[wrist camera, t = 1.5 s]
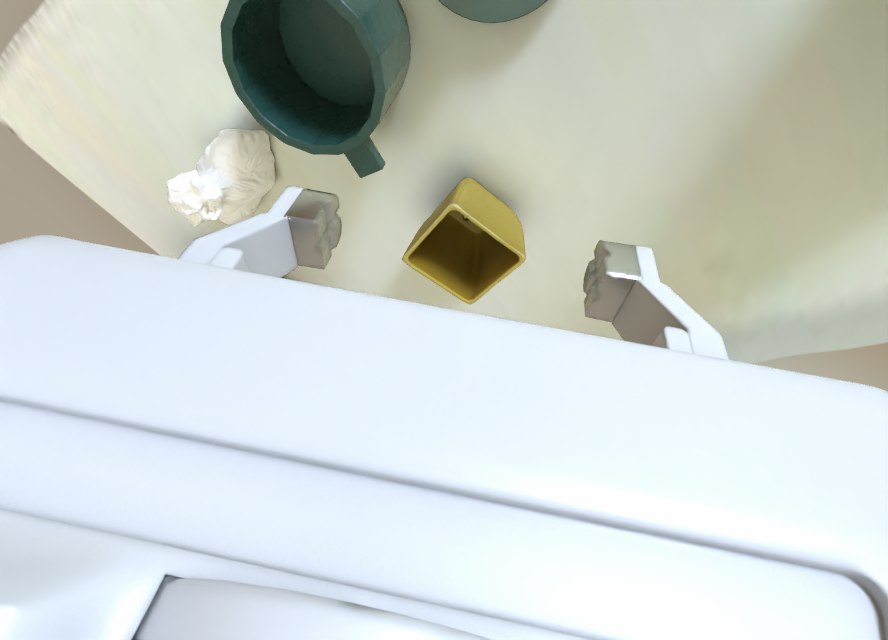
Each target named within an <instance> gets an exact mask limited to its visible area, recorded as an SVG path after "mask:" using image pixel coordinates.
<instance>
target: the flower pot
mask: <svg viewBox="0 0 888 640" xmlns="http://www.w3.org/2000/svg"><path fill="white" fill-rule="evenodd" d="M464 216H465V217H467V218H468V219H467V220H465V219H464V218H463V217H464ZM525 259H526V255H525V245H524V235H523V229H522V225H521V223H520V221H519V219H518V217H517V216H516V215H515V213H514V212H513V211H512V210H511V209H510V208H509V207H508V206H507V205H506V204H504V203H503V202H502V201H500V200H499V199H498V198H497V197H495V196H494V195H493V194H491V193H490V192H489V191H488V190H486V189H485V188H484V187H483V186H481V185H480V184H479V183H478V182H476V181H475V180H473V179H471V178H465V179H463V180H462V181H461V182H460V183H459V184H458V185H457V186H456V187H455V188H454V190H453V191H452V192H451V193H450V194H449V195H448V197H447V198H446V199H445V200H444V201H443V202H442V204H441V205H440V206H439V207H438V208H437V209H436V210H435V211H434V213H433V214H432V215H431V216H430V217H429V218H428V219H427V220H426V221H425V222H424V224H423V225H422V226H421V227H420V229H419V230H418V232H417V233H416V235H415V237H414V239H413V240H412V242H411V244H410V245H409V247H408V249H407V251H406V252H405V254H404V256H403V258H402V260H403V261H404V262H405V263H406V264H407V265H409V266H410V267H412V268H413V269H415V270H416V271H417V272H419V273H420V274H422V275H424V276H425V277H427V278H428V279H430V280H431V281H433V282H434V283H436V284H437V285H439V286H441V287H442V288H444V289H445V290H447V291H448V292H450V293H451V294H453V295H454V296H456V297H457V298H459V299H460V300H462V301H464V302H466V303H468V304H472V303H474V302H475V301H477V300H478V299H479V298H480V297H482V296H483V295H484V294H485V293H486V292H488V291H489V290H490V289H491V288H492V287H494V286H495V285H496V284H497V283H499V282H500V281H501V280H502V279H503V278H505V277H506V276H507V275H509V274H510V273H511V272H512V271H514V270H515V269H516V268H517V267H519V266H520V265H521V264H522V263H523V262H524V261H525Z"/></svg>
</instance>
